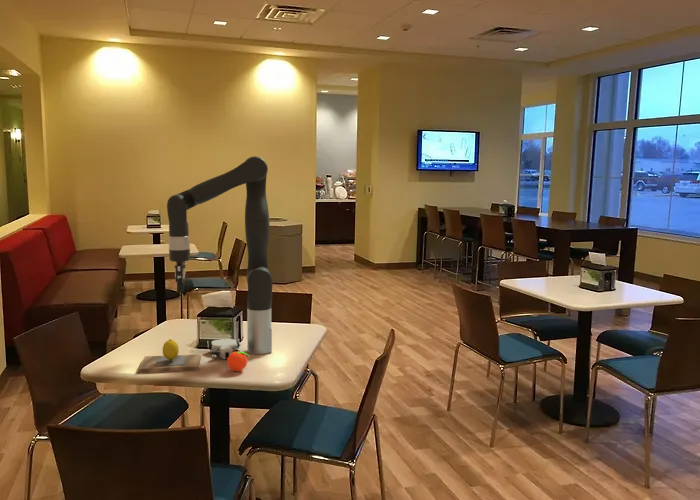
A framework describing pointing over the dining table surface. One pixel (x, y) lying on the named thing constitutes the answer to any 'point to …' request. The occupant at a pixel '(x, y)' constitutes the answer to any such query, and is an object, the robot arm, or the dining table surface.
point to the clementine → (237, 361)
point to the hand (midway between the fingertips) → (181, 290)
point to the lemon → (170, 349)
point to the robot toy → (223, 347)
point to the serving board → (170, 363)
